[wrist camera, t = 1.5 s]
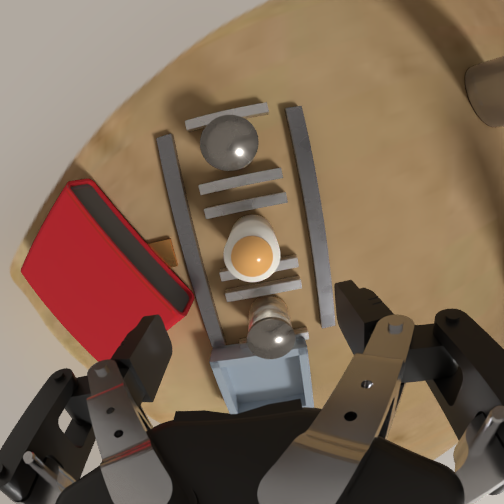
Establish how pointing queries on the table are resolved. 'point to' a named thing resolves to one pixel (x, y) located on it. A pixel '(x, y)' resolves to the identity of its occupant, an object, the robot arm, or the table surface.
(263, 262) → the halved boiled egg
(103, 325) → the red device housing
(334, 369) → the table surface
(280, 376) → the tray
